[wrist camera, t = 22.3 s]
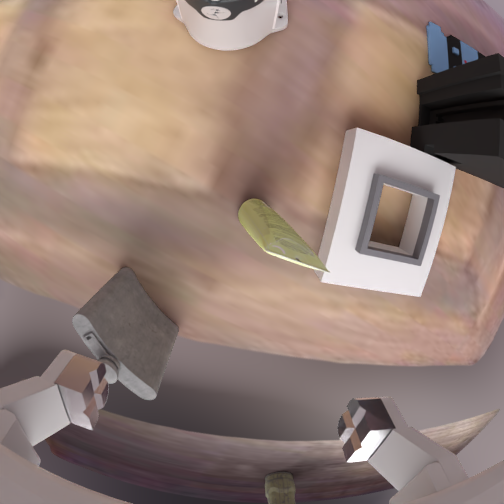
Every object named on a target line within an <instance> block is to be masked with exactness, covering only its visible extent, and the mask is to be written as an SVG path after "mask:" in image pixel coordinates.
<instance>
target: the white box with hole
mask: <svg viewBox="0 0 504 504" xmlns="http://www.w3.org/2000/svg"><path fill="white" fill-rule="evenodd" d="M455 169H456V167H455V166H453V165H451V164H449V163H446V162H444V161H442V160H440V159H438V158H436V157H433V156H431V155H429V154H427V153H424V152H422V151H419V150H417V149H415V148H412V147H410V146H407V145H405V144H402V143H400V142H397V141H394V140H392V139H389V138H386V137H384V136H381V135H378V134H375V133H372V132H369V131H366V130H363V129H360V128H353V129H350V130H346V133H345V138H344V143H343V149H342V154H341V159H340V164H339V168H338V173H337V178H336V183H335V187H334V192H333V196H332V201H331V205H330V209H329V214H328V218H327V222H326V226H325V230H324V234H323V238H322V242H321V246H320V250H319V254H318V258H319V259H320V260H321V261H322V263H323V264H324V266H325V267H326V268H327V270H328V271H330V273H327V272H323V271H321V270H316V269H314V271H315V273H316V275H317V276H318V278H319V279H320V281H321V282H324V283H330V284H337V285H343V286H350V287H356V288H363V289H369V290H376V291H383V292H390V293H397V294H404V295H411V296H418V297H420V296H421V294H422V291H423V288H424V285H425V283H426V280H427V277H428V274H429V271H430V268H431V265H432V262H433V259H434V256H435V253H436V249H437V246H438V243H439V239H440V236H441V232H442V228H443V225H444V221H445V217H446V213H447V209H448V204H449V200H450V195H451V191H452V186H453V180H454V175H455ZM383 185H386V186H389V187H392V188H396V189H399V190H402V191H405V192H408V193H411V194H413V195H412V199H411V203H410V207H409V212H408V216H407V219H406V223H405V227H404V231H403V234H402V238H401V242H400V245H399V247H395V246H391V245H386V244H382V243H378V242H373V241H369V240H370V237H371V233H372V229H373V225H374V222H375V218H376V214H377V210H378V205H379V201H380V197H381V193H382V188H383Z"/></svg>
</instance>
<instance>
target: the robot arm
mask: <svg viewBox="0 0 504 504" xmlns="http://www.w3.org/2000/svg"><path fill="white" fill-rule="evenodd" d="M176 1H177V5H176V7H175V9H174V11H173V13H174V16H175V17H176V18H177V19H178V20H179V21H181V22H182V23H184V24H185V26H186V28H187V30H188V32H189V34H190V35H191V36H192V37H193V39H195V40H196V41H197V42H198V43H200V44H202V45H204V46H206V47H209V48H212V49H216V50H238V49H243V48H246V47H249V46H252V45H254V44H256V43H258V42H259V41H261V40H262V39H263V38H265V37H266V36H267V35H269V34H270V33H273V32H277V31H280V30H283V29H285V28H286V27H287V26H288V12H287V0H176ZM279 16H281V17H282V18H278V17H279ZM105 374H106V367H105V364H104V363H102V362H99V361H96V360H93V359H90V358H88V357H85V356H82V355H79V354H76V353H73V352H71V351H68V350H63V351H61V352H60V354H59V355H58V356H57V357H56V358H55V360H54V361H53V362H52V363H51V365H50V366H49V367H48V368H47V370H46V371H45V372H44V373H43V375H42V376H41V377H38V376H35V377H32V378H30V379H27V380H24V381H21V382H18V383H15V384H12V385H9V386H6V387H4V388H0V504H132V503H128V502H125V501H121V500H118V499H115V498H112V497H109V496H106V495H103V494H101V493H98V492H95V491H92V490H90V489H87V488H84V487H82V486H80V485H77V484H75V483H73V482H70V481H68V480H66V479H64V478H61V477H59V476H57V475H55V474H53V473H51V472H49V471H47V470H45V469H43V468H41V467H39V464H40V462H41V461H40V458H39V456H38V454H37V453H36V451H35V450H34V448H33V446H34V445H36V444H37V443H39V442H41V441H42V440H44V439H46V438H47V437H49V436H51V435H52V434H54V433H56V432H57V431H59V430H60V429H62V428H64V427H65V426H67V425H69V424H70V422H71V423H74V424H76V425H79V426H82V427H85V428H88V429H90V430H93V428H94V426H95V424H96V422H97V420H98V418H99V413H98V410H99V409H101V408H103V407H104V405H105V403H106V401H107V397H108V388H109V387H108V381H107V380H106V379H105V378H104V376H105ZM347 407H348V411H346V412H345V413H344V414H342V416H341V418H340V420H339V423H338V435H339V438H340V439H341V440H342V441H343V442H344V443H345V444H344V446H343V451H344V455H345V458H346V461H347V462H356V461H367V460H368V462H369V463H370V464H371V465H372V466H373V467H374V468H375V469H376V470H377V471H378V472H379V473H380V474H381V475H382V476H383V477H384V478H385V479H386V480H387V481H389V482H390V483H391V484H392V485H393V486H394V487H395V488H396V489H397V490H398V491H399V492H398V493H397V494H395V495H394V496H393V497H392V498H391V499H390V500H389V504H504V460H503V461H501V462H500V463H498V464H496V465H494V466H492V467H491V468H488V469H487V470H485V471H483V472H481V473H479V474H477V475H475V476H473V477H470V478H468V476H467V474H466V472H465V470H464V469H463V467H462V465H461V463H460V461H459V460H458V458H457V456H456V455H455V454H453V453H452V452H450V451H449V450H447V449H445V448H444V447H442V446H441V445H439V444H437V443H436V442H434V441H433V440H431V439H430V438H428V437H427V436H425V435H423V434H422V433H420V432H419V431H417V430H416V429H414V428H413V427H408V426H407V424H406V422H405V420H404V418H403V417H402V415H401V413H400V411H399V409H398V407H397V406H396V404H395V402H394V400H393V399H392V398H391V397H378V398H353V399H352V400H350V402H349V403H348V405H347Z"/></svg>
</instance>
